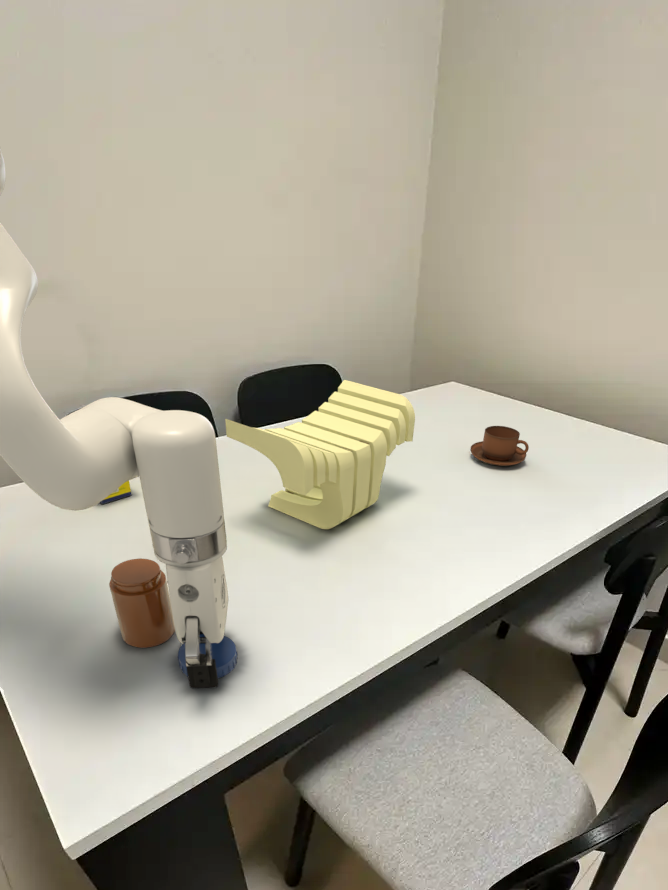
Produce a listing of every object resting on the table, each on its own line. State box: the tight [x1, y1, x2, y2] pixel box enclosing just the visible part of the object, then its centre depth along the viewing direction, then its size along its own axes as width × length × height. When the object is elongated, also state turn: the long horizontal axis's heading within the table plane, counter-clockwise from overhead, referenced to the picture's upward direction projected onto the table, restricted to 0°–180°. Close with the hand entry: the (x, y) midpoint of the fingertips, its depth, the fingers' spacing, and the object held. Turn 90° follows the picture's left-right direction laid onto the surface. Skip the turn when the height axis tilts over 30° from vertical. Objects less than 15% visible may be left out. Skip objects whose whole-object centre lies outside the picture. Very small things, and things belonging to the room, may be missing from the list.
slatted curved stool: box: [224, 379, 416, 530], centre depth 100 cm, size 30×16×18 cm, turn 143°
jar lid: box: [177, 634, 238, 679], centre depth 71 cm, size 7×7×2 cm
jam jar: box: [108, 558, 176, 649], centre depth 73 cm, size 7×7×9 cm
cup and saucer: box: [470, 425, 530, 467], centre depth 125 cm, size 12×12×6 cm
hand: (208, 661), depth 71 cm, fingers open, 7 cm apart
